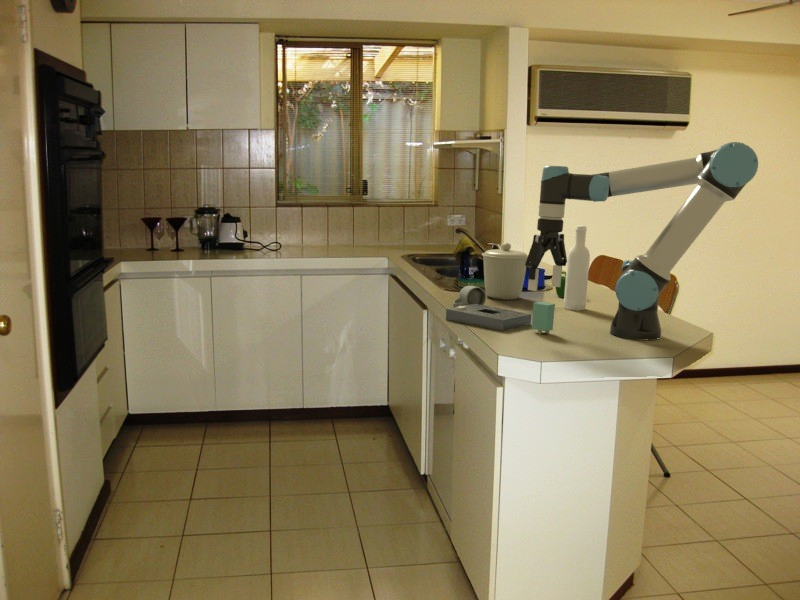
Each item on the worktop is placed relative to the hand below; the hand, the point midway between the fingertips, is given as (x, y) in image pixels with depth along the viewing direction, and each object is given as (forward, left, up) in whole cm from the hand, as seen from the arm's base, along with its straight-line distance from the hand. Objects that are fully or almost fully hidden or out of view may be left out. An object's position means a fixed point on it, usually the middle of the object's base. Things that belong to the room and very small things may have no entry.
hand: (544, 288), depth 238 cm
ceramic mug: (+40, -17, -14) cm, 45 cm away
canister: (+44, -44, -14) cm, 64 cm away
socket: (+20, 0, -14) cm, 24 cm away
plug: (0, 0, -14) cm, 14 cm away
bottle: (+15, -47, -14) cm, 51 cm away
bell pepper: (+30, -67, -14) cm, 75 cm away
